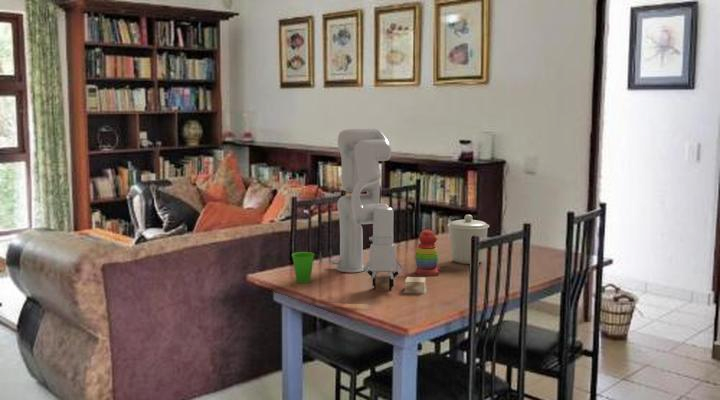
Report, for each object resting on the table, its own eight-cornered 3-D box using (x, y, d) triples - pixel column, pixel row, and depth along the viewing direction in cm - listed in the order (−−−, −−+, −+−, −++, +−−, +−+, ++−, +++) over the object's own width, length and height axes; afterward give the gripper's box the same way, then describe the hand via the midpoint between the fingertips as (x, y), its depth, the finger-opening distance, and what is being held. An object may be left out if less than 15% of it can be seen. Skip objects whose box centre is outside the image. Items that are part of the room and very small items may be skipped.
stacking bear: (438, 276, 286) (439, 232, 283) (413, 275, 288) (414, 232, 285) (440, 269, 296) (441, 228, 294) (416, 268, 298) (417, 227, 296)
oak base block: (404, 292, 257) (405, 281, 257) (406, 287, 264) (406, 276, 263) (424, 293, 256) (424, 282, 255) (425, 288, 263) (425, 277, 262)
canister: (460, 268, 299) (461, 219, 296) (439, 259, 316) (440, 213, 313) (496, 264, 306) (497, 216, 303) (473, 255, 323) (474, 210, 320)
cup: (297, 285, 271) (296, 257, 270) (288, 280, 279) (288, 253, 278) (318, 283, 276) (318, 255, 274) (309, 277, 284) (309, 251, 282)
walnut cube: (375, 290, 260) (375, 277, 259) (377, 286, 265) (377, 273, 264) (388, 291, 259) (388, 277, 258) (390, 287, 264) (390, 274, 263)
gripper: (358, 241, 257) (358, 290, 260) (405, 243, 254) (404, 292, 257) (362, 237, 265) (362, 284, 267) (407, 239, 262) (407, 286, 264)
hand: (383, 287), depth 262 cm, fingers closed on walnut cube, 5 cm apart
